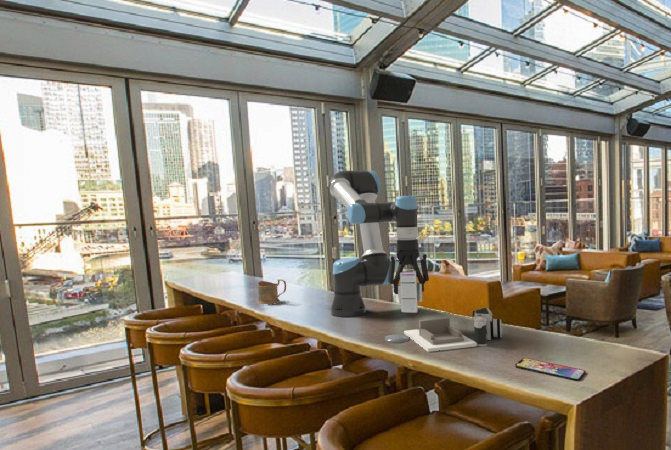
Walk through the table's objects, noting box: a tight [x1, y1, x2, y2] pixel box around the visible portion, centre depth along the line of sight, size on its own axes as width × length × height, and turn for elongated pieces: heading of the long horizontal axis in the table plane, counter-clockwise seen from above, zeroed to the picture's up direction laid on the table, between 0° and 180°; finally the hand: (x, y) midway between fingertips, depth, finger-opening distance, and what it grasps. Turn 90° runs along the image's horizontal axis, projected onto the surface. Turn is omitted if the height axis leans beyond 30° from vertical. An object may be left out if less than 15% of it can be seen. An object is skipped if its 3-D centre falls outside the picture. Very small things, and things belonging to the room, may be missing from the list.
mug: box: [256, 279, 287, 305], centre depth 203 cm, size 12×18×12 cm, turn 57°
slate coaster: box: [384, 333, 410, 344], centre depth 135 cm, size 8×8×1 cm
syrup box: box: [399, 269, 419, 314], centre depth 146 cm, size 6×6×14 cm
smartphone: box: [514, 357, 586, 382], centre depth 103 cm, size 7×1×15 cm
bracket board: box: [403, 317, 478, 353], centre depth 132 cm, size 20×16×6 cm
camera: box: [472, 307, 503, 347], centre depth 130 cm, size 16×9×10 cm, turn 159°
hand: (409, 301), depth 147 cm, fingers closed on syrup box, 7 cm apart
